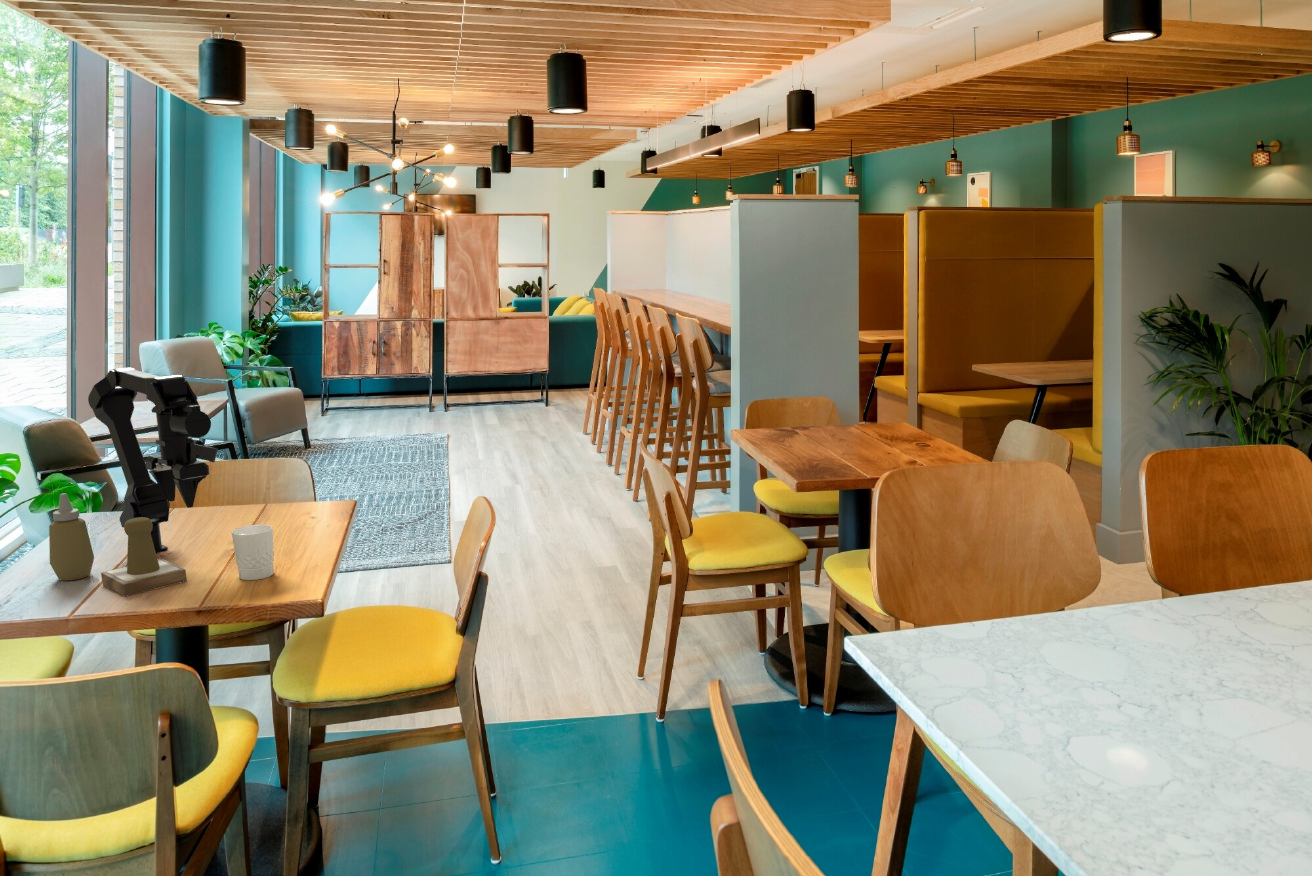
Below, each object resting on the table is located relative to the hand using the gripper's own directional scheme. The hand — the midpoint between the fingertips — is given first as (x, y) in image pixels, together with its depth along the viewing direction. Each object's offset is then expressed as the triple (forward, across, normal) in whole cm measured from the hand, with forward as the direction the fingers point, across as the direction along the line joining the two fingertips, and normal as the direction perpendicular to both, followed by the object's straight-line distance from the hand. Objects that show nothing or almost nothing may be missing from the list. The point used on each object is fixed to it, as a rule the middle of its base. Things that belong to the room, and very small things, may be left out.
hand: (180, 504), depth 212 cm
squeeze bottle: (+13, +8, +20) cm, 25 cm away
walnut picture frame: (+13, -8, +12) cm, 19 cm away
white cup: (+13, -22, -5) cm, 26 cm away
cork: (+11, -8, +12) cm, 18 cm away
